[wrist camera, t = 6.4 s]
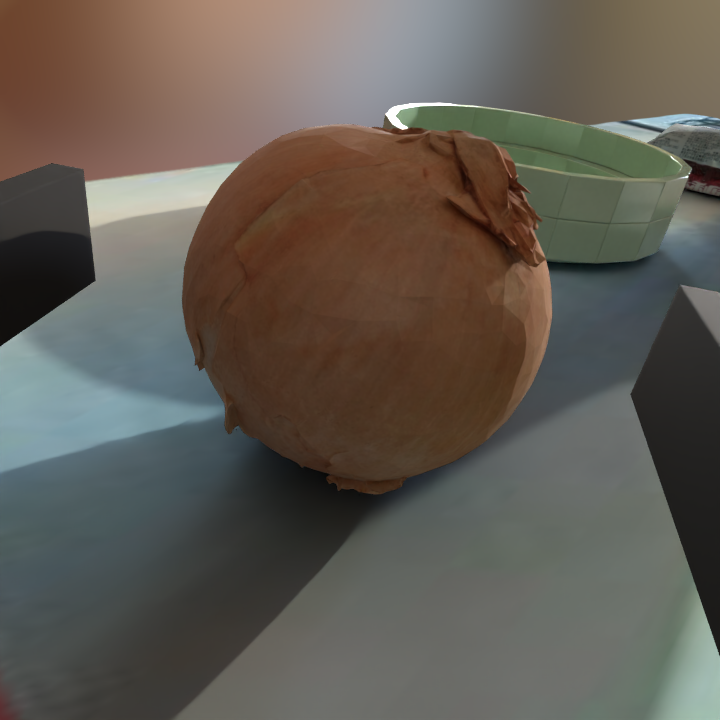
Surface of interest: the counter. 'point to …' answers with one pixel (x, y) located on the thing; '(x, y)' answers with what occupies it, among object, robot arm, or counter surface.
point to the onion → (369, 298)
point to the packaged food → (695, 154)
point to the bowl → (574, 179)
